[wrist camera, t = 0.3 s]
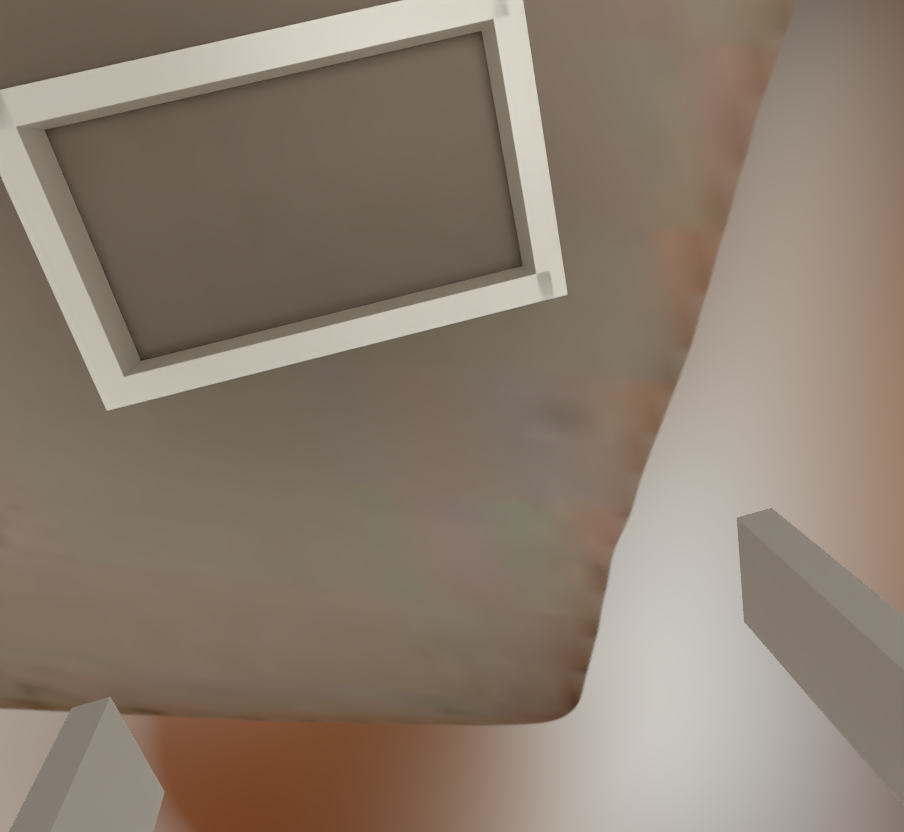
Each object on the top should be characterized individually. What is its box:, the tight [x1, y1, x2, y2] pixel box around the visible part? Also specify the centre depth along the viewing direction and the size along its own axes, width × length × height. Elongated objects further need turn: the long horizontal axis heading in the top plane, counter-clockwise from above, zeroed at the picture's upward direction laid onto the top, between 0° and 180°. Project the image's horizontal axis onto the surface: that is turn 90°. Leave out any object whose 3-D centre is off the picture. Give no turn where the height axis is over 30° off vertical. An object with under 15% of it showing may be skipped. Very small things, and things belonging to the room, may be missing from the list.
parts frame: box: [0, 0, 568, 411], centre depth 34 cm, size 15×25×3 cm, turn 102°
